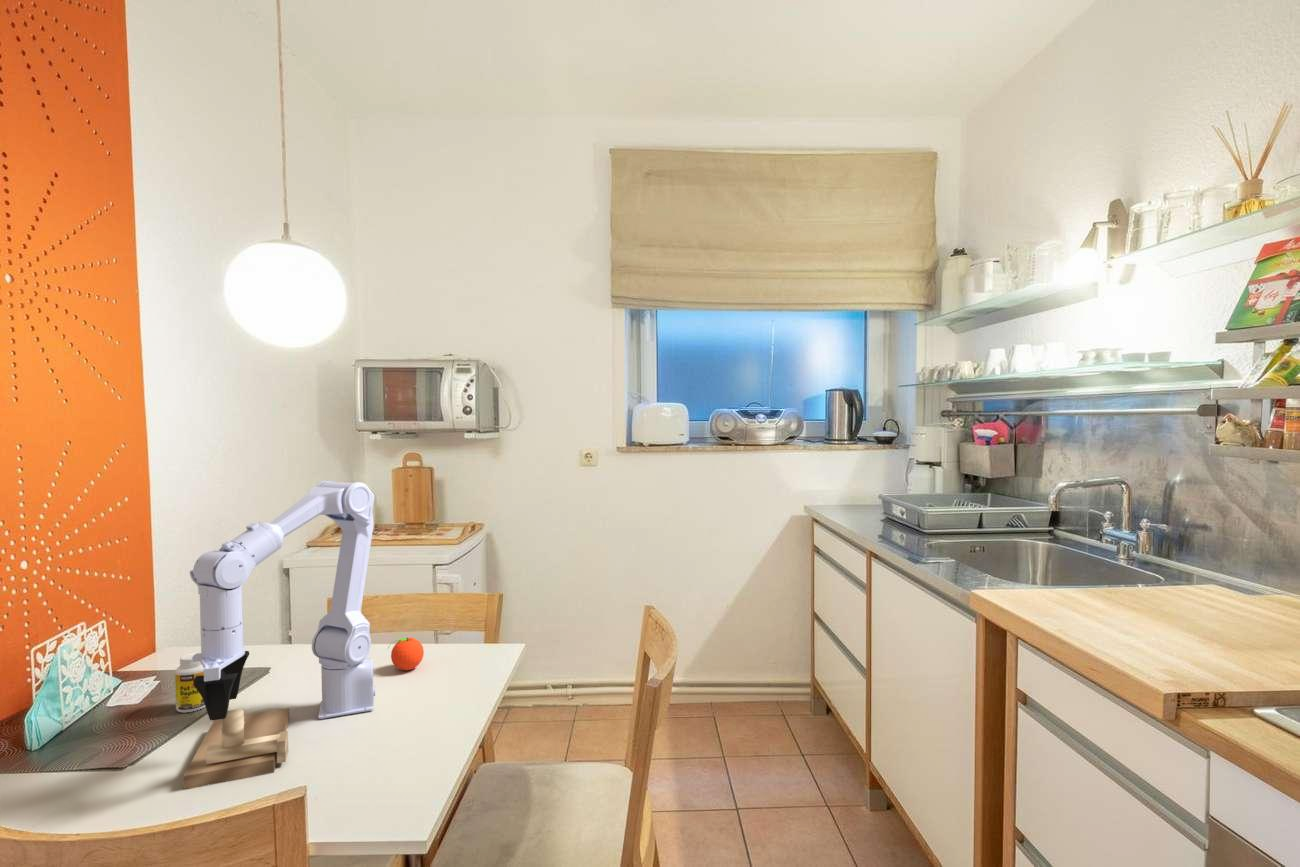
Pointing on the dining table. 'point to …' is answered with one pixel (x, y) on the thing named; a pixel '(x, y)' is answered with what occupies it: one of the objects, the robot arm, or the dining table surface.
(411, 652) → the clementine
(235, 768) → the walnut board
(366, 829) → the dining table surface
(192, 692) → the supplement bottle
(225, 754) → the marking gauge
